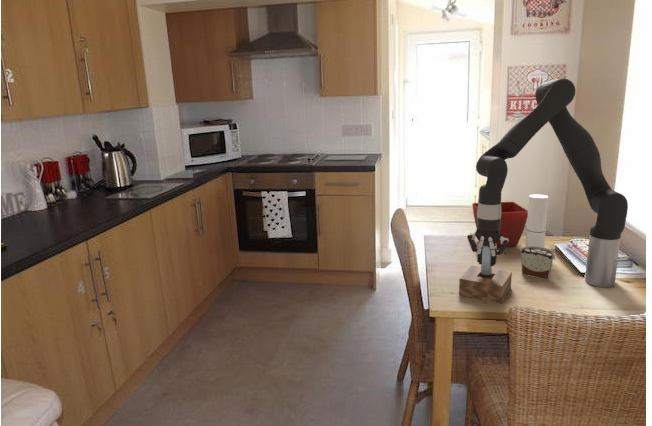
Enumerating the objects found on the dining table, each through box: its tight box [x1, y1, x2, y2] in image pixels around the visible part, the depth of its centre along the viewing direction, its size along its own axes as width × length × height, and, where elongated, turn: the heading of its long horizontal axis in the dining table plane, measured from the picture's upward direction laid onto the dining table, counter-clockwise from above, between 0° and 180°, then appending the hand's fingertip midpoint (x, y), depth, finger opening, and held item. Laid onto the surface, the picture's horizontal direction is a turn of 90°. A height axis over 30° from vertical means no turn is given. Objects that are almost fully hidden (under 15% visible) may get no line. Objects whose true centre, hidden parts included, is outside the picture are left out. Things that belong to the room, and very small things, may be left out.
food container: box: [519, 246, 556, 281], centre depth 176 cm, size 12×6×10 cm, turn 47°
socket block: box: [458, 265, 513, 304], centre depth 164 cm, size 14×14×6 cm
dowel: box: [480, 245, 493, 275], centre depth 162 cm, size 3×3×10 cm
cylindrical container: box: [524, 193, 549, 248], centre depth 194 cm, size 7×7×25 cm
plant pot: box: [472, 201, 528, 248], centre depth 212 cm, size 19×19×17 cm
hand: (486, 264), depth 162 cm, fingers closed on dowel, 3 cm apart
